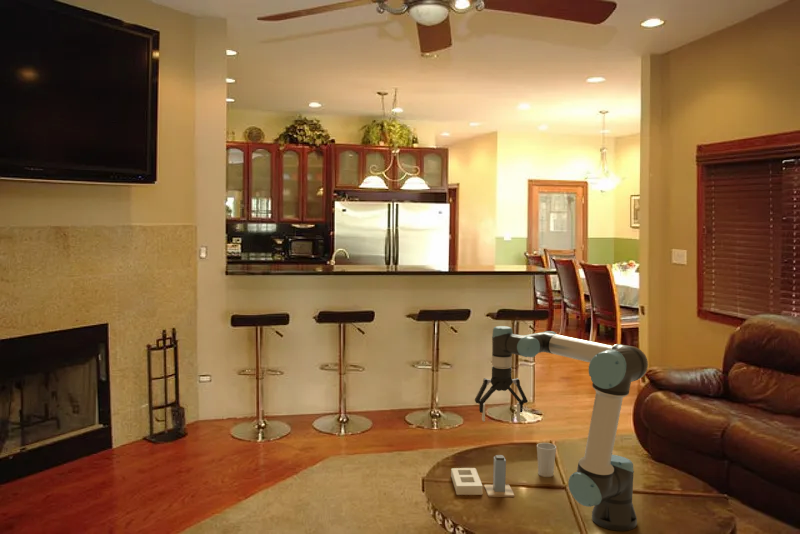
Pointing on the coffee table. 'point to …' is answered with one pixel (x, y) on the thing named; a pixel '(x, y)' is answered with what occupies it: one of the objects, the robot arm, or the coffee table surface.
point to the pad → (492, 493)
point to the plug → (499, 473)
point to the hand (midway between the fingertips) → (500, 420)
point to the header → (466, 481)
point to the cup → (546, 459)
